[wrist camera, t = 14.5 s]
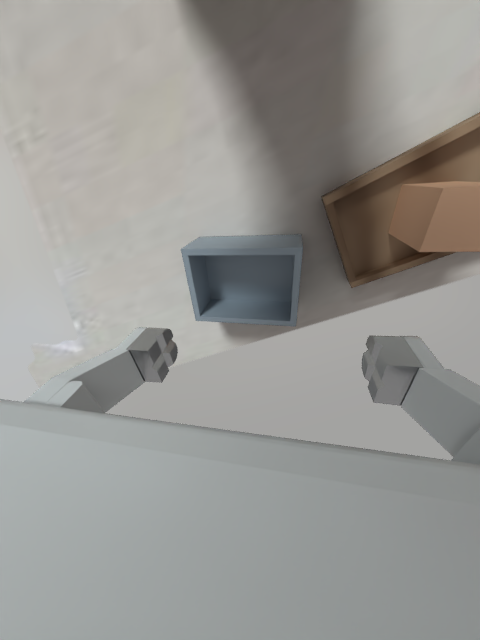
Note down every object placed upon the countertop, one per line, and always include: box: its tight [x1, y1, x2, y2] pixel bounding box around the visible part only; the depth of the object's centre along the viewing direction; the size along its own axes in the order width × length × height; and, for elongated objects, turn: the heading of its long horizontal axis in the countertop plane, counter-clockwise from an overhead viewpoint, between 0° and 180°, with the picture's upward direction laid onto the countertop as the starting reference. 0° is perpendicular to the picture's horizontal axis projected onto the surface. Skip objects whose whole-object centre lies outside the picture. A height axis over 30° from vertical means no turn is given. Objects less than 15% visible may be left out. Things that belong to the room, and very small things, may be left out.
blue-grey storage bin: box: [181, 234, 303, 326], centre depth 31 cm, size 11×15×6 cm
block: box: [388, 181, 480, 252], centre depth 21 cm, size 5×5×8 cm
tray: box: [321, 112, 480, 288], centre depth 24 cm, size 18×12×2 cm, turn 119°
